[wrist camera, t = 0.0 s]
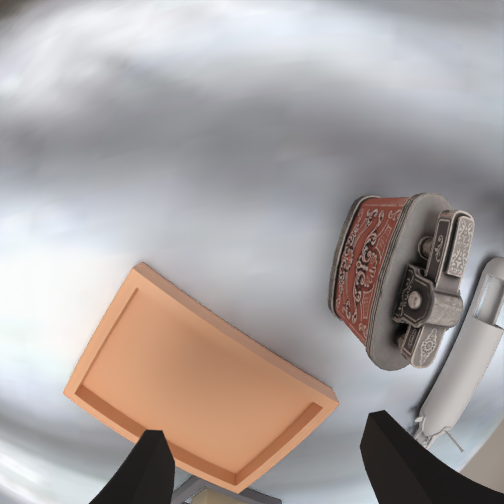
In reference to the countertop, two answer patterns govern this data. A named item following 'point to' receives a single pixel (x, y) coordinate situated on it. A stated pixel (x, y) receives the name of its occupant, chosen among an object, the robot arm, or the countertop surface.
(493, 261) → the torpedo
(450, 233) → the lighter
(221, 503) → the tan rectangular block
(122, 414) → the parts tray
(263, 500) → the socket
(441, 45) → the countertop surface
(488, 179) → the countertop surface
